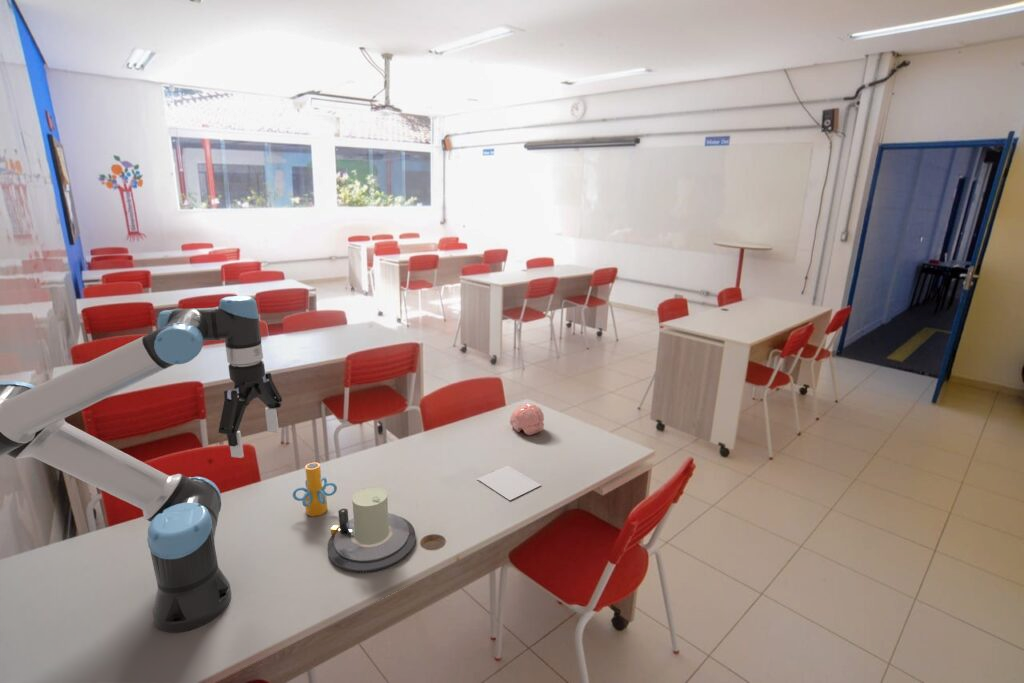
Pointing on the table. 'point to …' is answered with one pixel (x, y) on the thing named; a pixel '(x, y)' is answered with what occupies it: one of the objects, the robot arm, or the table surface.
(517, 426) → the brain
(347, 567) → the turntable base
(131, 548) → the table surface
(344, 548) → the turntable
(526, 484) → the paper stack
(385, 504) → the can
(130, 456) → the robot arm
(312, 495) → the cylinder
